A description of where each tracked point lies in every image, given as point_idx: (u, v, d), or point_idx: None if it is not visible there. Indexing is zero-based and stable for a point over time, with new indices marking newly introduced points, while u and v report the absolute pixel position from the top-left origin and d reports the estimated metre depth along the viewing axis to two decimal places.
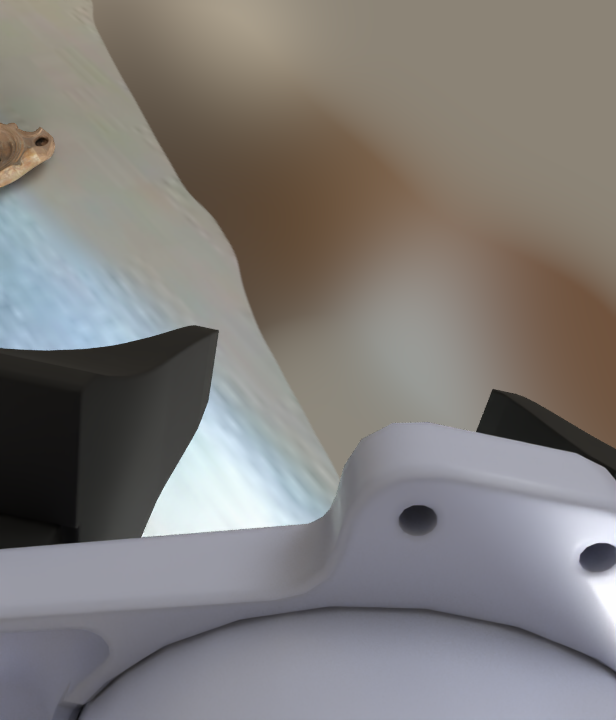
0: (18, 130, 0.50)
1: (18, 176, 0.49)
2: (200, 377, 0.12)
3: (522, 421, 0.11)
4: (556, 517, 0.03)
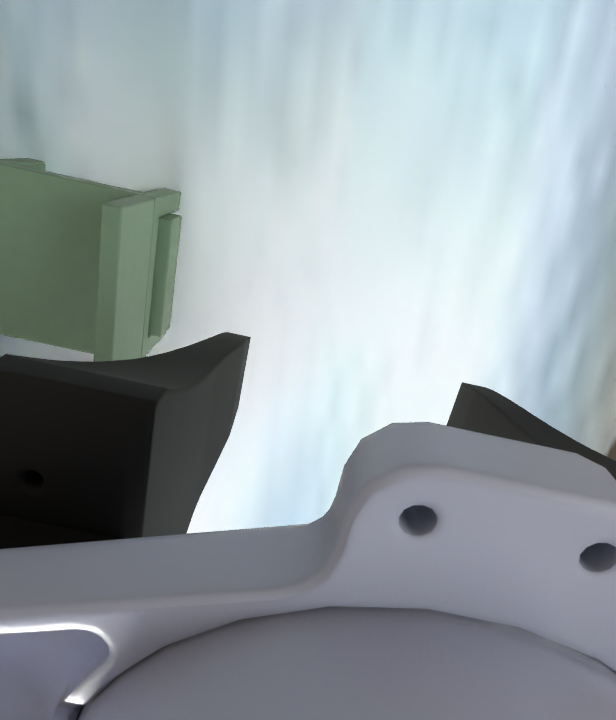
0: None
1: None
2: (234, 385, 0.12)
3: (487, 414, 0.11)
4: (556, 517, 0.03)
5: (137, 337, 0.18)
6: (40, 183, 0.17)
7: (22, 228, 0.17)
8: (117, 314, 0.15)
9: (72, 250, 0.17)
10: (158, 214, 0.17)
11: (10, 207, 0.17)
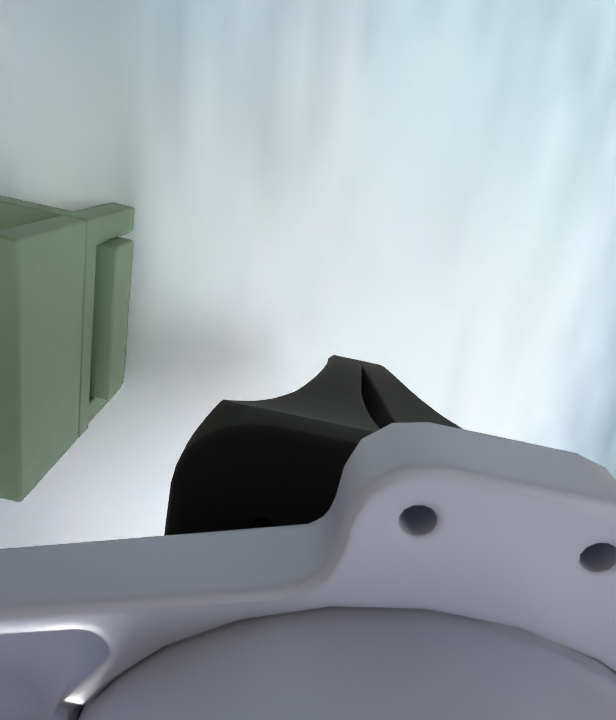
0: None
1: None
2: None
3: (365, 388, 0.11)
4: (556, 517, 0.03)
5: (69, 408, 0.13)
6: None
7: None
8: (25, 390, 0.11)
9: None
10: (95, 241, 0.12)
11: None
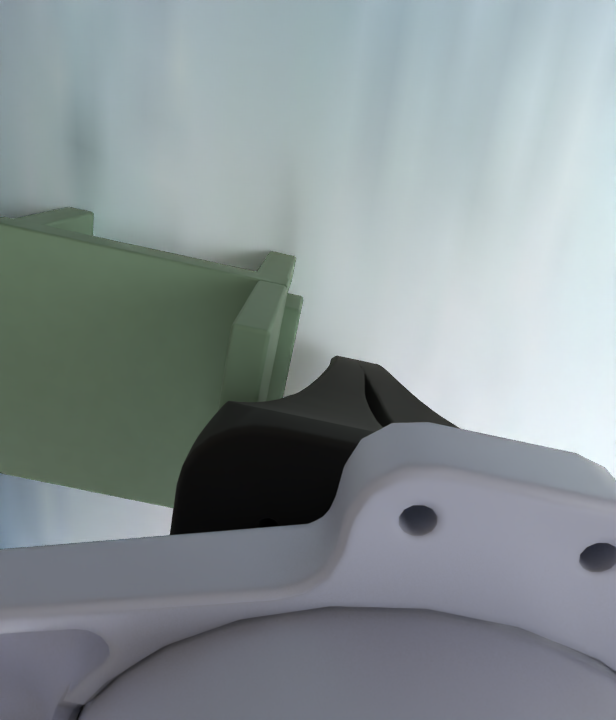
0: None
1: None
2: None
3: None
4: (556, 517, 0.03)
5: None
6: (99, 261, 0.10)
7: (67, 328, 0.11)
8: None
9: (145, 362, 0.11)
10: (284, 306, 0.11)
11: (48, 297, 0.10)
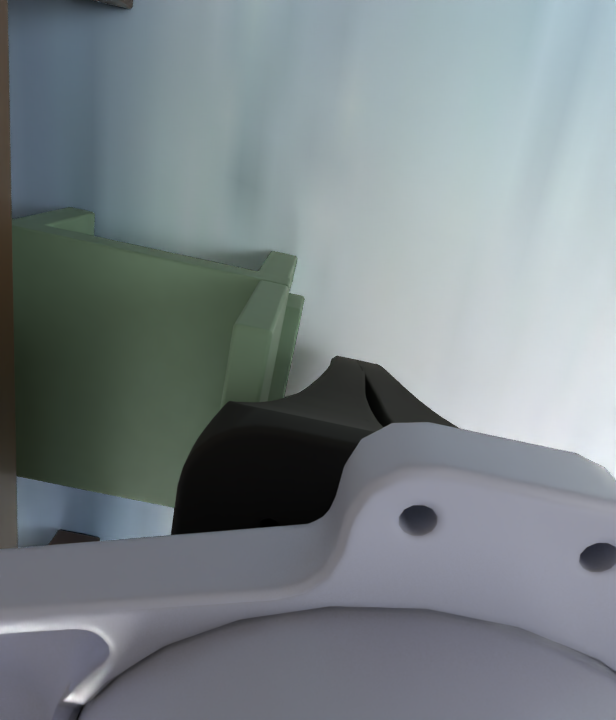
0: None
1: None
2: None
3: None
4: (556, 517, 0.03)
5: None
6: (100, 261, 0.10)
7: (68, 329, 0.11)
8: None
9: (147, 362, 0.11)
10: (285, 305, 0.11)
11: (50, 298, 0.10)
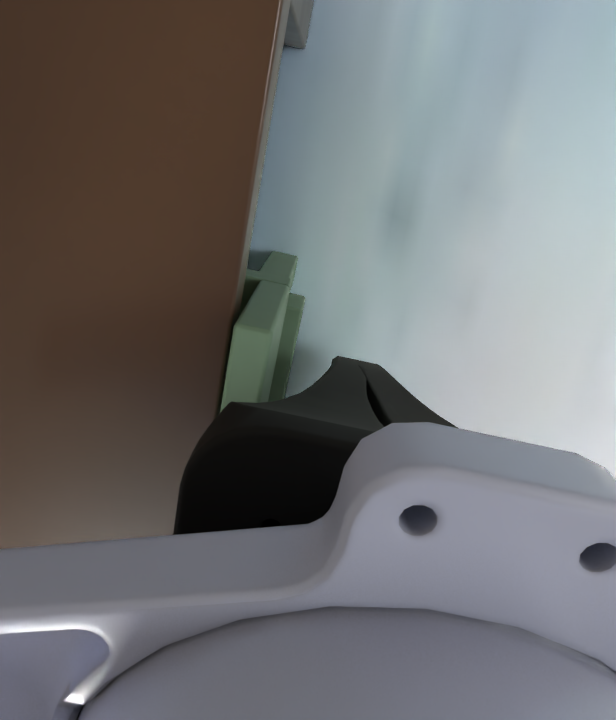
0: None
1: None
2: None
3: None
4: (556, 517, 0.03)
5: None
6: None
7: None
8: None
9: None
10: (286, 305, 0.11)
11: None
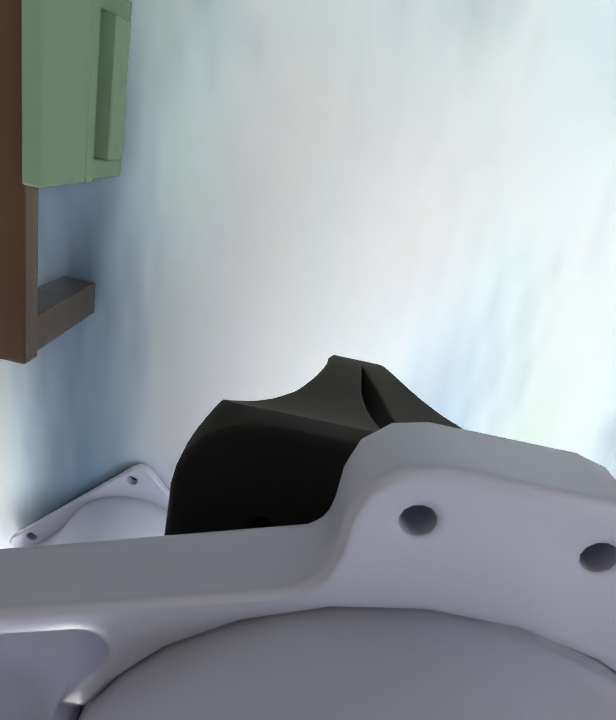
0: None
1: None
2: None
3: (365, 388, 0.11)
4: (556, 517, 0.03)
5: (78, 142, 0.16)
6: None
7: None
8: (46, 82, 0.14)
9: None
10: (100, 0, 0.16)
11: None
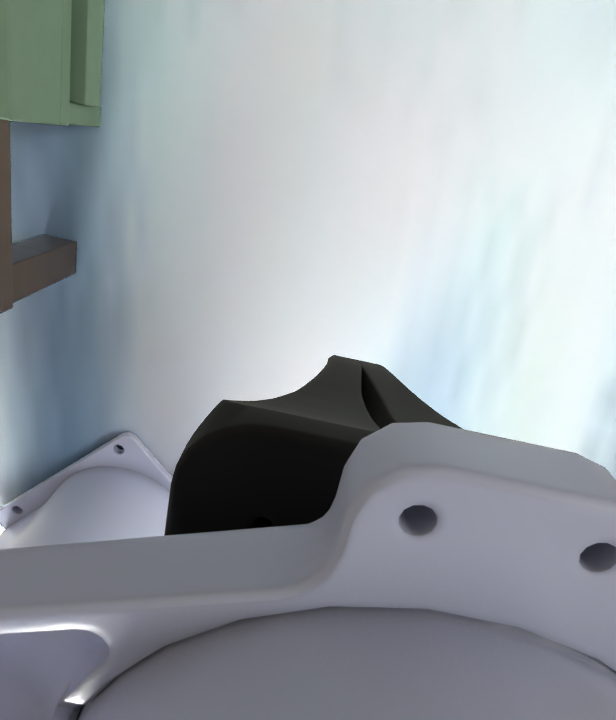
0: None
1: None
2: None
3: (365, 388, 0.11)
4: (556, 517, 0.03)
5: (51, 79, 0.16)
6: None
7: None
8: (13, 5, 0.13)
9: None
10: None
11: None
